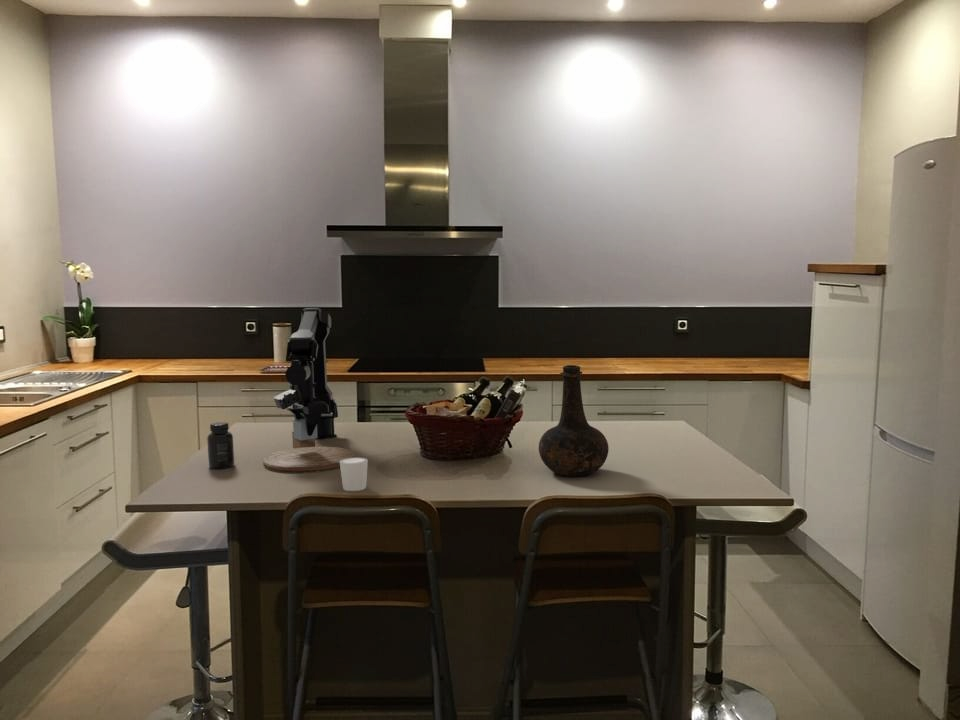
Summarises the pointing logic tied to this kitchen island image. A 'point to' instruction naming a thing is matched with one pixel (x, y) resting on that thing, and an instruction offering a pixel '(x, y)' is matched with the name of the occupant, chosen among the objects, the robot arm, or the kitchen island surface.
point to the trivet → (306, 459)
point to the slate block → (302, 430)
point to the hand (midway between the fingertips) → (305, 434)
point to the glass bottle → (573, 434)
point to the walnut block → (303, 442)
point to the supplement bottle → (220, 446)
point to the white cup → (354, 473)
